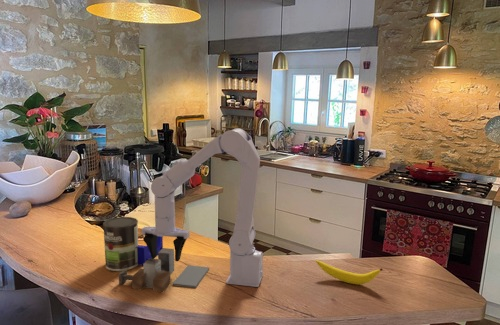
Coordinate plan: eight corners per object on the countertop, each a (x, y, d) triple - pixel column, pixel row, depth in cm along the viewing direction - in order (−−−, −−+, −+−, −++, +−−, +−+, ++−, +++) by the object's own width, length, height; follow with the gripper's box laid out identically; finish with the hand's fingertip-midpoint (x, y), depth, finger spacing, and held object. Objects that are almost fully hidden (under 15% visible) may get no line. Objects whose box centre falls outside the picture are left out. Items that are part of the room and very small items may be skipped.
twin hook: (175, 267, 114) (174, 246, 113) (155, 288, 101) (155, 264, 100) (154, 265, 116) (153, 244, 114) (132, 285, 103) (131, 262, 102)
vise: (170, 283, 104) (170, 271, 104) (162, 292, 99) (162, 280, 99) (126, 278, 107) (126, 266, 106) (117, 286, 102) (116, 274, 102)
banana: (316, 273, 111) (316, 253, 110) (381, 287, 103) (383, 266, 102) (313, 277, 109) (314, 257, 108) (380, 292, 101) (382, 270, 100)
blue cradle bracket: (151, 249, 128) (150, 233, 127) (162, 251, 127) (162, 234, 126) (132, 264, 117) (131, 246, 116) (144, 265, 115) (144, 247, 114)
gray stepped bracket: (174, 270, 112) (173, 249, 111) (163, 281, 105) (163, 259, 104) (163, 269, 113) (163, 247, 112) (152, 280, 106) (151, 257, 105)
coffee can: (125, 273, 110) (123, 229, 107) (98, 268, 113) (95, 224, 111) (146, 260, 119) (144, 218, 117) (120, 255, 123) (118, 215, 121)
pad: (209, 269, 113) (209, 267, 113) (195, 288, 102) (195, 286, 102) (188, 266, 115) (188, 265, 115) (172, 285, 103) (172, 283, 103)
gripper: (135, 217, 106) (137, 261, 108) (182, 221, 103) (183, 266, 105) (147, 210, 113) (148, 252, 115) (191, 214, 110) (192, 257, 112)
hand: (166, 258), depth 110 cm, fingers open, 7 cm apart
